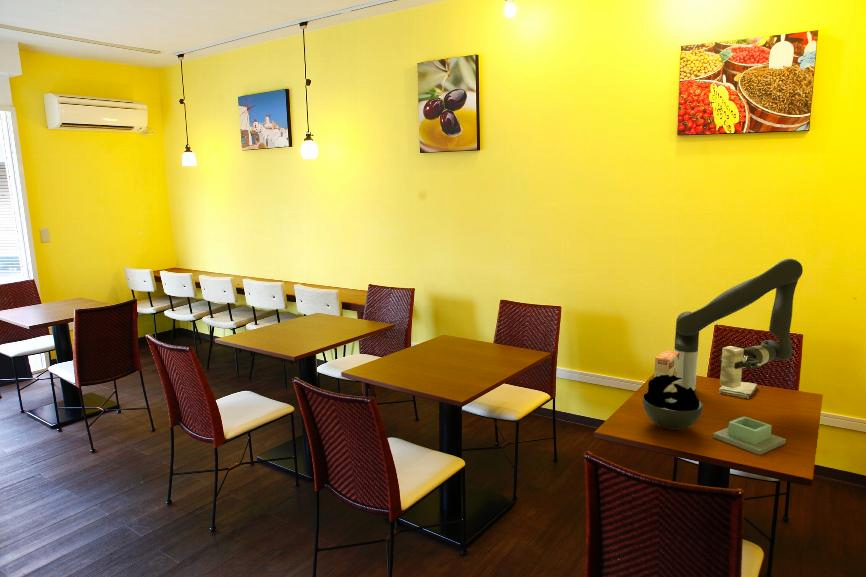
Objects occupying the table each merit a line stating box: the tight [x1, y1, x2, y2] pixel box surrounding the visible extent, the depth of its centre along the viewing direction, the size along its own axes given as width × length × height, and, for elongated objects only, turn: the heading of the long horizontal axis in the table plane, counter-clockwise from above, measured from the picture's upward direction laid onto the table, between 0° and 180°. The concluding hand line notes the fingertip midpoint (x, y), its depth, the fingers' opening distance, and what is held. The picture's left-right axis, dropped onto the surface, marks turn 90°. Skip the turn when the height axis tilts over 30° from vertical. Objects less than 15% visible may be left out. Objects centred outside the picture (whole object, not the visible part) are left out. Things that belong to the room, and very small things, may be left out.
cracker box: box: [653, 349, 680, 392], centre depth 225 cm, size 14×6×21 cm, turn 143°
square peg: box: [719, 345, 745, 388], centre depth 209 cm, size 5×5×14 cm
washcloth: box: [718, 381, 758, 400], centre depth 243 cm, size 12×18×3 cm, turn 142°
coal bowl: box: [641, 375, 704, 431], centre depth 204 cm, size 20×20×19 cm
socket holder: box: [712, 416, 787, 456], centre depth 194 cm, size 16×16×6 cm
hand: (728, 364), depth 207 cm, fingers closed on square peg, 5 cm apart
